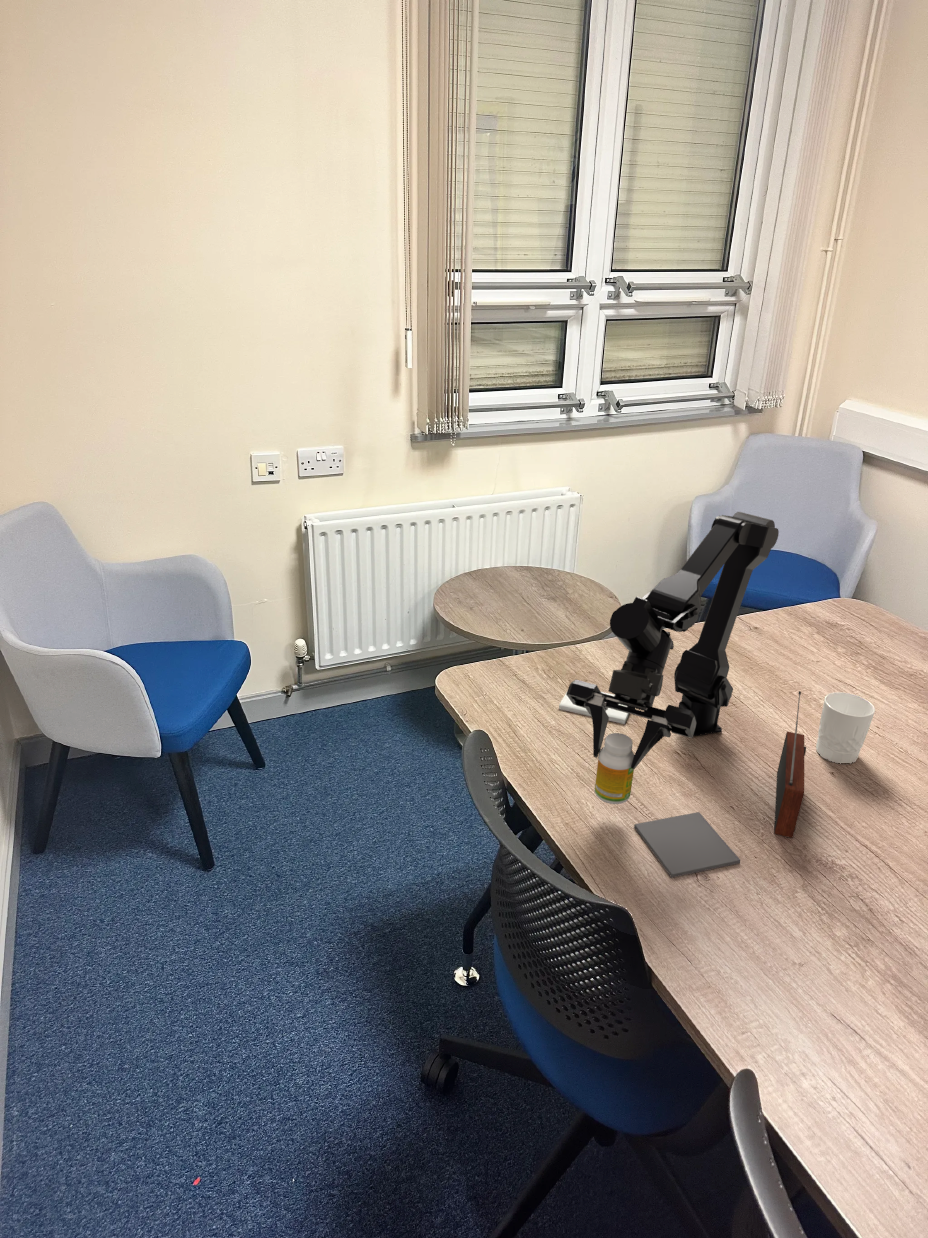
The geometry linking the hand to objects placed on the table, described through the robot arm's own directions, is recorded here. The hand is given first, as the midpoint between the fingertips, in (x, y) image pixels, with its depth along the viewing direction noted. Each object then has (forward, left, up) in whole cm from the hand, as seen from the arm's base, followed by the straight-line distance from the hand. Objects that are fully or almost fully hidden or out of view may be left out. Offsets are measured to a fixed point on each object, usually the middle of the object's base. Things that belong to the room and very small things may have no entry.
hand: (613, 762), depth 122 cm
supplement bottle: (-1, -1, -7) cm, 7 cm away
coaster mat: (-9, +8, -11) cm, 16 cm away
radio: (-30, +3, -11) cm, 32 cm away
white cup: (-47, -6, -11) cm, 48 cm away
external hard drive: (-13, -31, -11) cm, 35 cm away
